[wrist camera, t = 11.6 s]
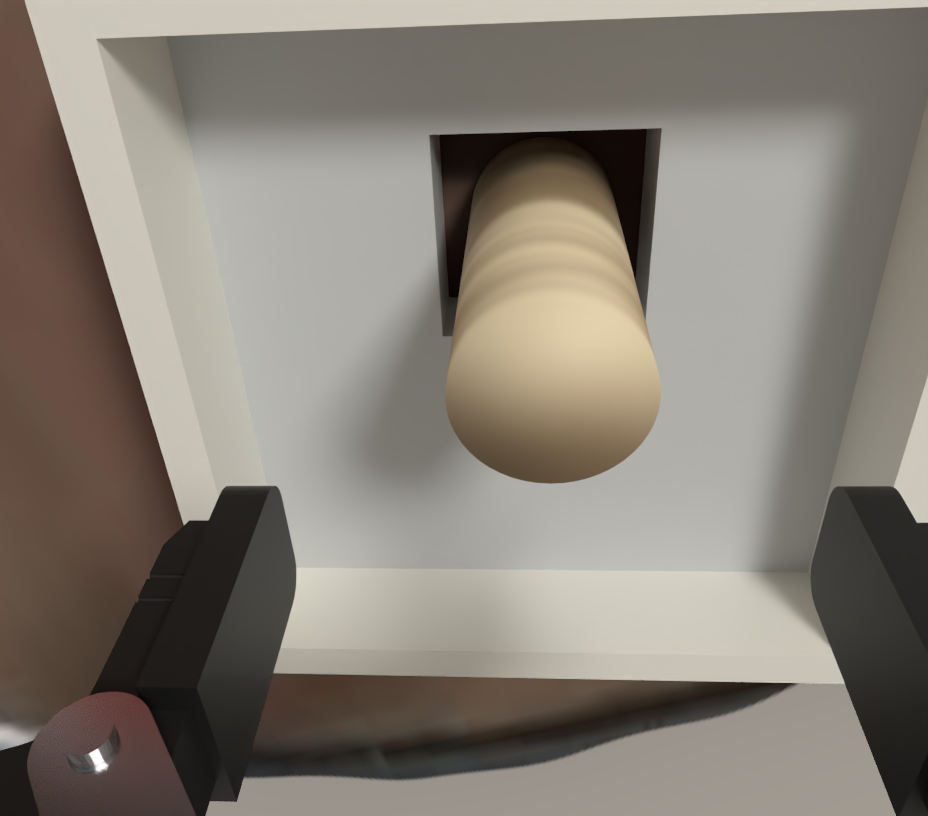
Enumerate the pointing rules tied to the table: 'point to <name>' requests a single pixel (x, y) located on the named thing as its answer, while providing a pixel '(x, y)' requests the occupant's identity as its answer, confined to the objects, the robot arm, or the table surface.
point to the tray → (433, 312)
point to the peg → (549, 322)
